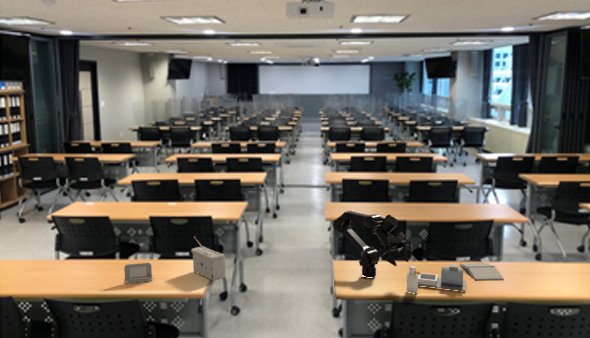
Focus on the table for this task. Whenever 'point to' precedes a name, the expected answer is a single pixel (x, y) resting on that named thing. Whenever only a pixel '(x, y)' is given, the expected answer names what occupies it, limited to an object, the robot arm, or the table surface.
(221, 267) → the stereo radio cassette player
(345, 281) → the table surface
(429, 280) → the tray with square frame
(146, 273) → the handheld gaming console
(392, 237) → the robot arm
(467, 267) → the gadget
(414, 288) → the white rounded upright piece
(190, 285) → the table surface
